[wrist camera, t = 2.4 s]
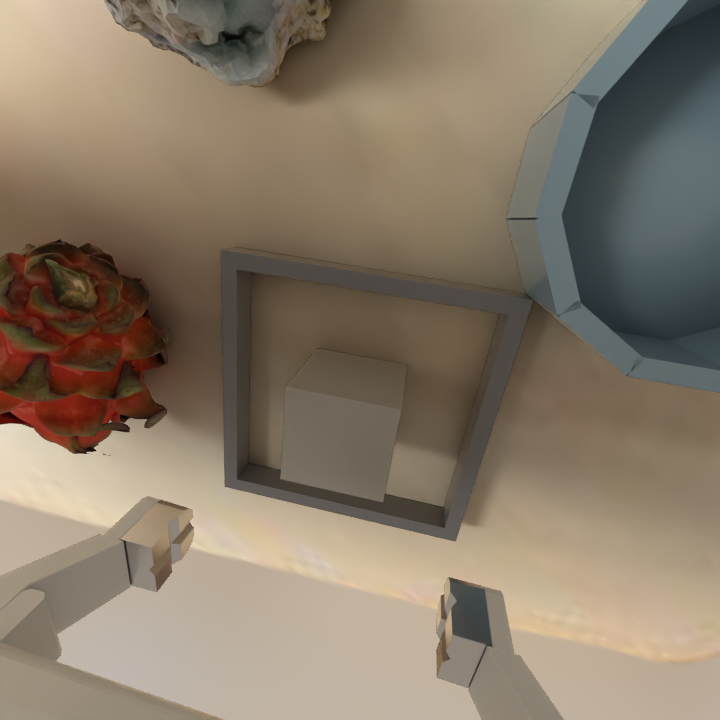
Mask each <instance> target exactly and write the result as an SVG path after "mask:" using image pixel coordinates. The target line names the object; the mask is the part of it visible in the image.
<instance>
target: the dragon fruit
mask: <svg viewBox="0 0 720 720" xmlns="http://www.w3.org/2000/svg"><path fill="white" fill-rule="evenodd" d="M148 300H149V291H148V288H147V286H146V284H145V283H144V281H143V280H142V279H136V278H134V279H132V278H128V277H126V276H124V275H120V274H119V273H118V270H117V268H116V266H115V264H114V261H113V258H112V256H110V255H108V254H106V253H104V252H103V251H102V250H101V249H99V248H96V247H94V246H92V245H91V244H90V243H87V244H85V245H83V246H81V247H80V248H77V247H76V246H73V245H71V244H69V243H67V242H63V241H61V239H60V240H58V241H55V242H51V243H46V244H42V245H39V246H37V247H35V246H33V245H31V244H27V245H26V247H25V248H24V249H23V251H22V253H21V254H14V253H9V254H6V255H4V256H3V257H0V424H8V423H16V424H23V425H26V426H28V427H31V428H34V429H35V431H36V432H37V433H38V434H39V435H40V436H41V437H42V438H44V439H45V440H47V441H50V442H54V443H57V444H59V445H61V446H63V447H65V448H66V449H68V451H70V452H72V453H74V454H78V453H84V454H88V453H86V452H93V451H96V450H95V449H94V447H95V446H97V445H99V444H98V443H99V442H101V441H103V440H104V439H105V438H107V437H108V436H109V435H110V434H111V432H112V430H113V431H122V432H130V431H129V430H130V428H129V426H128V425H126V424H124V422H126V421H127V420H128V419H129V418H134V419H147V421H146V422H145V425H144V427H145V428H150V427H152V426H154V425H155V424H156V423H157V422H159V421H160V420H161V419H162V418H163V417H164V416H165V415H166V413H167V409H166V408H165V407H164V406H162V405H159V404H158V403H156V402H155V401H154V400H153V399H152V397H151V395H150V393H149V390H148V389H147V387H146V386H145V383H144V382H143V379H144V374H143V370H147V369H152V368H155V367H160V366H163V365H166V364H167V362H168V355H167V353H166V352H165V347H166V346H167V344H168V342H169V338H170V335H169V330H168V329H161V328H160V329H158V328H157V327H155V326H153V325H152V324H151V318H150V314H149V312H148V310H147V309H146V308H147V305H148ZM110 420H111V421H112V422H111V423H108V422H109V421H110ZM119 422H121V423H119ZM65 448H63V449H65ZM110 454H111V453H110ZM91 455H92V454H91ZM103 455H105V454H103ZM108 456H110V455H108Z"/></svg>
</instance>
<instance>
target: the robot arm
mask: <svg viewBox="0 0 720 720" xmlns="http://www.w3.org/2000/svg"><path fill="white" fill-rule="evenodd" d="M192 518H193V511H192V509H190V508H187V507H183V506H180V505H177V504H173V503H170V502H167V501H163V500H160V499H156V498H153V497H149V496H147V497H145V498H143V499H141V500H140V501H139V502H138V503H137V504H136V505H135V506H134V507H133V508H132V509H131V510H130V511H129V512H128V513H126V514H125V515H124V516H123V517H122V518H121V519H120V520H119V521H118V522H117V523H116V524H115V525H114V526H113V527H112V528H110V529H109V530H108V531H107V532H106V533H105V534H104V535H100V534H98V535H96V536H93V537H91V538H89V539H86V540H84V541H81V542H79V543H77V544H74V545H72V546H70V547H68V548H65V549H63V550H60V551H58V552H55V553H53V554H51V555H49V556H46V557H44V558H41V559H39V560H36V561H34V562H32V563H30V564H27V565H25V566H22V567H20V568H17V569H15V570H13V571H10V572H8V573H6V574H3V575H1V576H0V720H224V719H221V718H218V717H216V716H212V715H210V714H207V713H204V712H201V711H198V710H195V709H192V708H190V707H187V706H184V705H181V704H178V703H175V702H172V701H169V700H166V699H164V698H161V697H158V696H155V695H152V694H149V693H146V692H143V691H140V690H137V689H135V688H132V687H129V686H126V685H123V684H120V683H117V682H114V681H111V680H109V679H106V678H103V677H100V676H97V675H94V674H91V673H88V672H86V671H82V670H80V669H77V668H74V667H71V666H68V665H65V664H62V663H59V662H57V661H56V660H57V659H58V658H59V657H60V656H61V646H60V643H59V639H58V636H57V634H58V633H60V632H61V631H63V630H64V629H66V628H68V627H69V626H71V625H72V624H74V623H75V622H77V621H78V620H80V619H81V618H83V617H85V616H86V615H88V614H89V613H91V612H92V611H94V610H95V609H97V608H99V607H100V606H102V605H103V604H105V603H106V602H108V601H109V600H111V599H113V598H114V597H116V596H117V595H119V594H120V593H122V592H123V591H125V590H127V589H128V588H130V585H132V586H136V587H140V588H143V589H147V590H151V591H155V592H157V591H158V590H159V589H160V587H161V586H162V585H163V583H164V582H165V581H166V580H167V578H168V577H169V576H170V574H171V573H172V564H173V563H176V562H177V561H179V560H181V559H182V558H183V557H184V555H185V554H186V553H187V551H188V550H189V547H190V545H191V543H192V541H193V536H194V527H193V526H192V525H191V523H190V520H191V519H192ZM436 633H437V635H438V637H439V638H440V641H439V644H438V647H437V650H436V652H437V654H436V655H437V678H440V679H443V680H445V681H448V682H452V683H454V684H457V685H460V686H464V687H466V688H469V690H468V691H469V693H470V695H471V697H472V699H473V702H474V704H475V706H476V708H477V710H478V712H479V715H480V717H481V719H482V720H564V719H563V718H562V716H561V715H560V713H559V712H558V710H557V709H556V707H555V706H554V704H553V703H552V701H551V700H550V699H549V697H548V696H547V694H546V693H545V691H544V690H543V689H542V687H541V685H540V684H539V683H538V681H537V680H536V678H535V677H534V675H533V674H532V672H531V671H530V669H529V668H528V667H527V665H526V664H525V662H524V661H523V659H522V658H521V656H519V655H516V654H514V649H513V644H512V639H511V633H510V628H509V623H508V618H507V613H506V608H505V602H504V597H503V594H502V592H501V591H498V590H495V589H491V588H487V587H482V586H481V585H477V584H473V583H469V582H465V581H461V580H457V579H454V578H450V577H448V578H447V579H446V582H445V585H444V594H443V595H442V596H441V597H440V601H439V604H438V610H437V621H436Z"/></svg>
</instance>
